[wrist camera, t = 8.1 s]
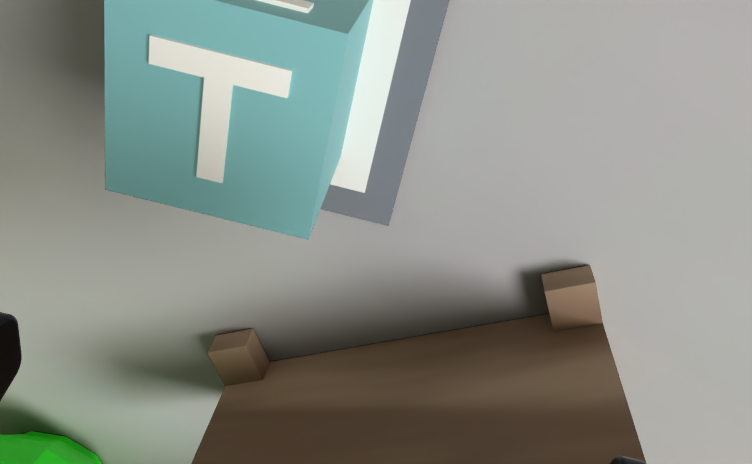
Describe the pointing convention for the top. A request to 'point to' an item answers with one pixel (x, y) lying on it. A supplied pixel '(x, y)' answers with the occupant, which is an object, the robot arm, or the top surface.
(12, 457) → the plastic bottle
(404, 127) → the pad
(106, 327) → the top surface
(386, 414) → the brown wooden block
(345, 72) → the letter cube
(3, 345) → the robot arm
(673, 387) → the top surface
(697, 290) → the top surface
